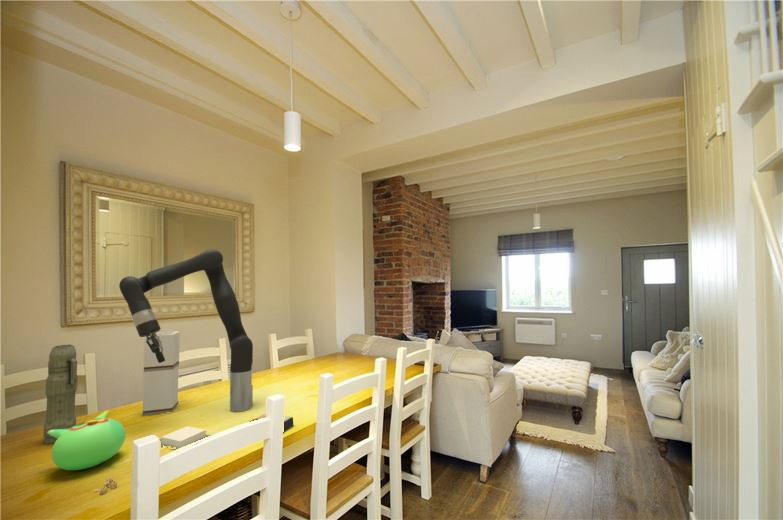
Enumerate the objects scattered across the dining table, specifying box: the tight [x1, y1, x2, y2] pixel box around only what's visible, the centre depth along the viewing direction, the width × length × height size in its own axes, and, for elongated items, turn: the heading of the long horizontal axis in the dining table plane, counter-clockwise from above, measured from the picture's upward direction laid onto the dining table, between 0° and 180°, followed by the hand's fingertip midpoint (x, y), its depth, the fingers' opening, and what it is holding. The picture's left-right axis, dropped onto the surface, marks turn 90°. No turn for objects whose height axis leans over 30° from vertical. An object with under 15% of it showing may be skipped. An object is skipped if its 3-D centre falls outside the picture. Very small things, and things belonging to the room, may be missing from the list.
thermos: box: [42, 344, 78, 446], centre depth 134 cm, size 9×12×35 cm
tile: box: [160, 426, 207, 448], centre depth 128 cm, size 3×10×10 cm
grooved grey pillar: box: [142, 331, 181, 417], centre depth 163 cm, size 11×11×35 cm
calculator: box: [248, 413, 294, 433], centre depth 138 cm, size 11×4×15 cm
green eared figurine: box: [47, 410, 126, 471], centre depth 113 cm, size 18×17×15 cm
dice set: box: [92, 477, 118, 496], centre depth 99 cm, size 5×5×2 cm
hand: (162, 361), depth 141 cm, fingers closed
